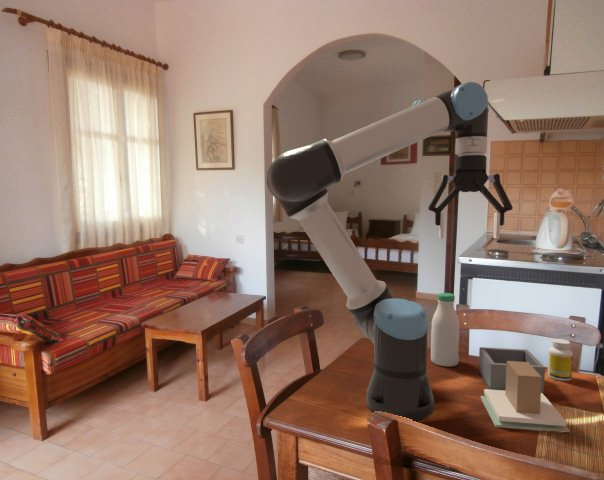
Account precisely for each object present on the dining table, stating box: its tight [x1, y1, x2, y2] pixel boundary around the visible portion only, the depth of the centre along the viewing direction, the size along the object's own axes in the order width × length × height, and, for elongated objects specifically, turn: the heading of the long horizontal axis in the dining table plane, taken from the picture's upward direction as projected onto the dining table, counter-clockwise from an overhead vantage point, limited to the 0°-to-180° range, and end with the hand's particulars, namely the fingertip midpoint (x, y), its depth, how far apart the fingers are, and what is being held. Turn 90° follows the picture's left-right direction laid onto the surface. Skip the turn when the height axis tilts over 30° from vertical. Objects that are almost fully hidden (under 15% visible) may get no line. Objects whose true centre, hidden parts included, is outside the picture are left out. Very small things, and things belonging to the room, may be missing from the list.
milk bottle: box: [430, 292, 461, 368], centre depth 120 cm, size 8×8×20 cm
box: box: [478, 346, 546, 396], centre depth 106 cm, size 12×12×7 cm
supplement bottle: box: [547, 338, 574, 382], centre depth 110 cm, size 5×5×10 cm
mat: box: [480, 395, 571, 432], centre depth 91 cm, size 14×13×1 cm
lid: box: [483, 361, 567, 426], centre depth 91 cm, size 13×13×10 cm
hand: (468, 238), depth 109 cm, fingers open, 13 cm apart
